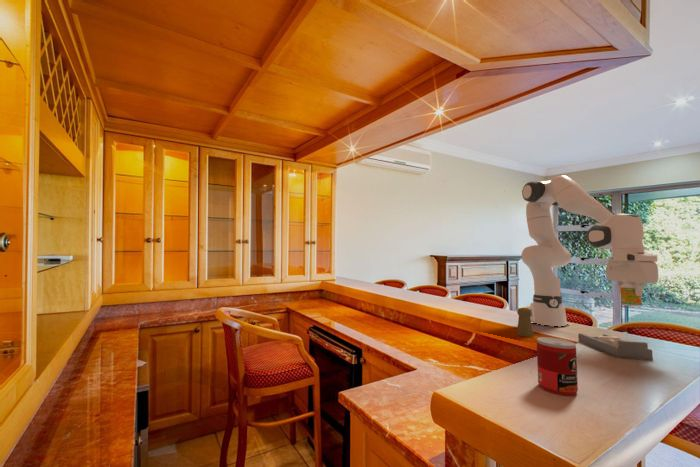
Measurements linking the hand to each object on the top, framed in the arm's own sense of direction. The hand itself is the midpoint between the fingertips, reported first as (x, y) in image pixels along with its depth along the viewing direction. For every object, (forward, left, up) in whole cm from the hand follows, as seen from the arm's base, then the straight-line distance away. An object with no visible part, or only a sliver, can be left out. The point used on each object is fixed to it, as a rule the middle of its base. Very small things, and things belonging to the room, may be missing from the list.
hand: (630, 294), depth 112 cm
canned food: (+45, -47, -19) cm, 68 cm away
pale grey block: (+4, -9, -19) cm, 22 cm away
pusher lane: (+4, -9, -19) cm, 22 cm away
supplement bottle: (0, 0, -4) cm, 4 cm away
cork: (-13, -31, -19) cm, 39 cm away
